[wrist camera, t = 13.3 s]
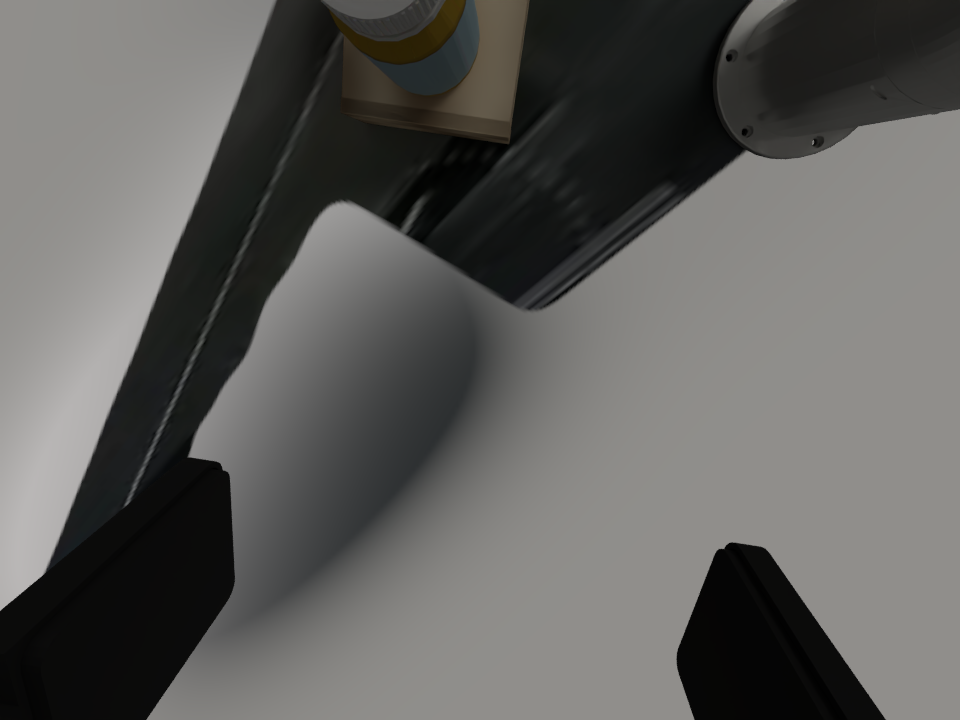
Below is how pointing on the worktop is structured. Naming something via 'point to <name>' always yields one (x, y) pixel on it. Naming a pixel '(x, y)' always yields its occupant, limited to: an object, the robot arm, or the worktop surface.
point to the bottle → (413, 39)
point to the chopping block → (463, 110)
